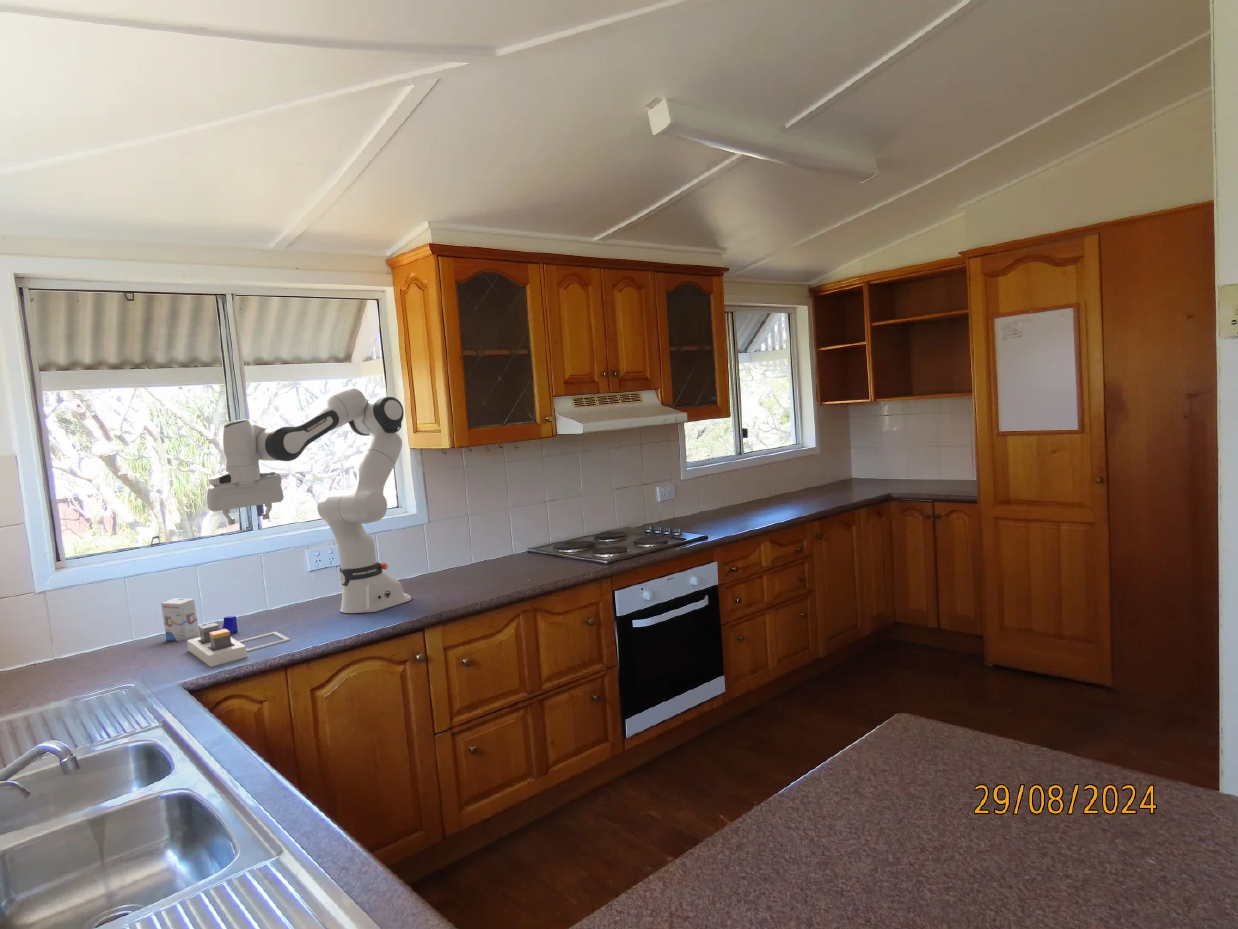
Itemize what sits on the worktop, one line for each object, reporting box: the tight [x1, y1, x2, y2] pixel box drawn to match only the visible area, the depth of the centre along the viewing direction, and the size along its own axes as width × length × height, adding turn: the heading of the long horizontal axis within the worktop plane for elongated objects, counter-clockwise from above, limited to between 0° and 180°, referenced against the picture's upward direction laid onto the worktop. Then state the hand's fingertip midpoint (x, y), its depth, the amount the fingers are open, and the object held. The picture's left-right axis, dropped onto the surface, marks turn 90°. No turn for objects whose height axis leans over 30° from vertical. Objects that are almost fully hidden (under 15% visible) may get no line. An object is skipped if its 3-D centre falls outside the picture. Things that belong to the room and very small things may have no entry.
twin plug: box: [198, 622, 220, 644], centre depth 214 cm, size 4×4×7 cm
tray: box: [237, 631, 291, 653], centre depth 218 cm, size 12×12×1 cm
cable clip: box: [219, 615, 239, 636], centre depth 225 cm, size 12×4×6 cm, turn 171°
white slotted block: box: [186, 636, 248, 668], centre depth 210 cm, size 9×22×4 cm, turn 42°
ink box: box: [160, 597, 200, 642], centre depth 232 cm, size 9×5×12 cm, turn 70°
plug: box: [209, 629, 232, 651], centre depth 206 cm, size 4×4×7 cm
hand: (249, 521), depth 226 cm, fingers open, 8 cm apart
